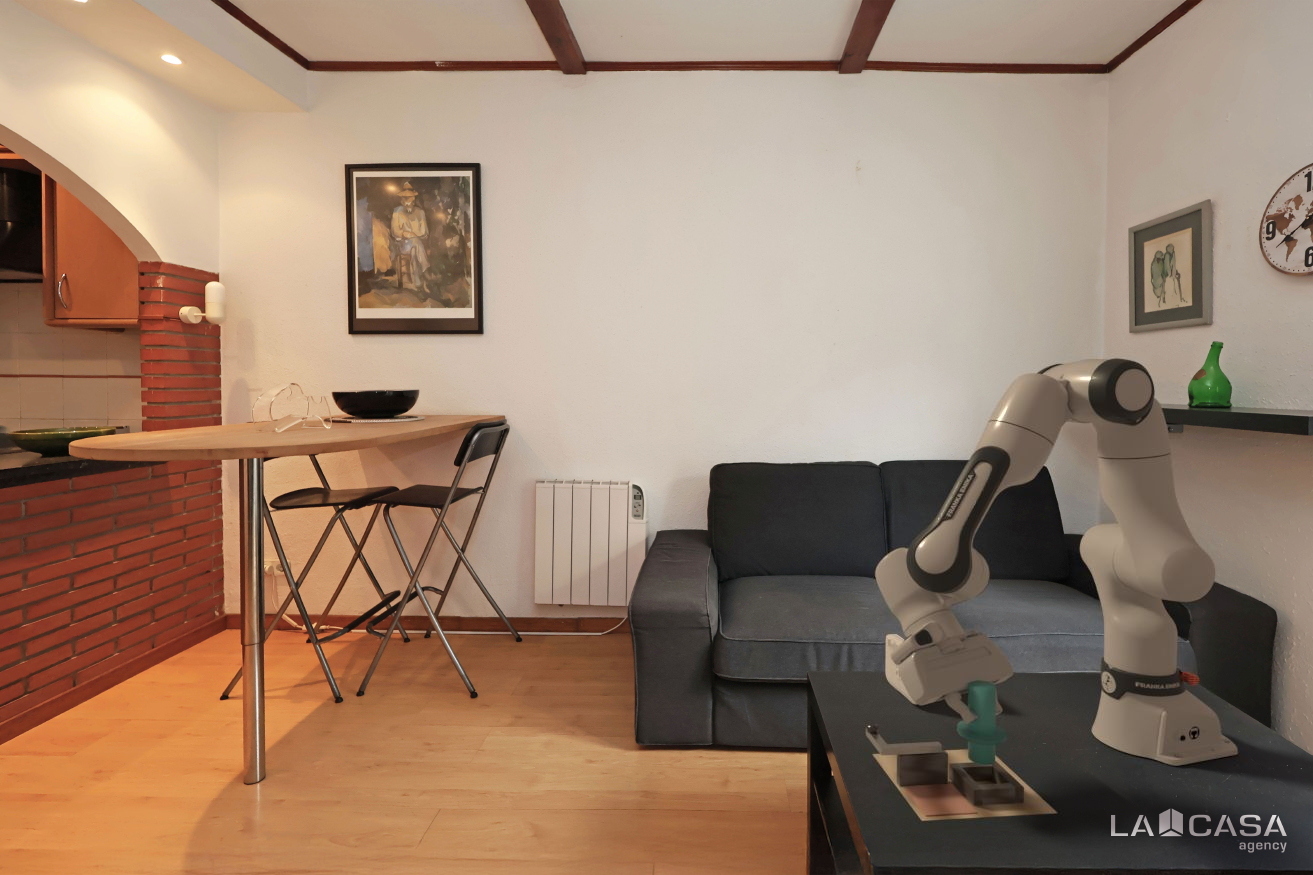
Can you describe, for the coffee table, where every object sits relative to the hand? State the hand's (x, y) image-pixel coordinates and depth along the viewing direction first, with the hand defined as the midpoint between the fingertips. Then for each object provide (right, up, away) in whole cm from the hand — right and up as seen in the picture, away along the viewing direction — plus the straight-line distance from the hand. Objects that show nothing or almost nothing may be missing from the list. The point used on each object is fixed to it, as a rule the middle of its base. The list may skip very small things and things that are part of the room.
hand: (985, 717), depth 116 cm
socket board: (-3, -13, +4) cm, 13 cm away
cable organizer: (+4, -11, +40) cm, 42 cm away
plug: (0, -7, +1) cm, 7 cm away
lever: (-11, -6, +5) cm, 14 cm away
